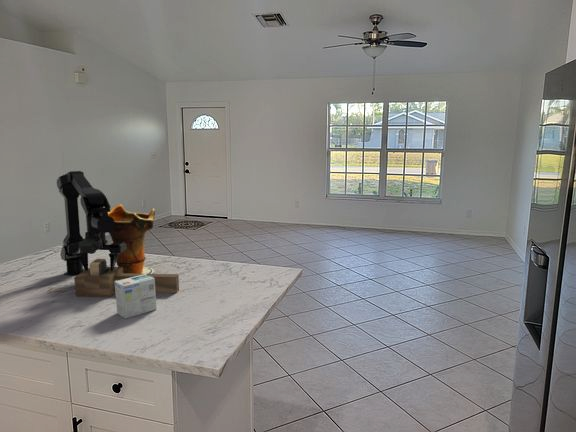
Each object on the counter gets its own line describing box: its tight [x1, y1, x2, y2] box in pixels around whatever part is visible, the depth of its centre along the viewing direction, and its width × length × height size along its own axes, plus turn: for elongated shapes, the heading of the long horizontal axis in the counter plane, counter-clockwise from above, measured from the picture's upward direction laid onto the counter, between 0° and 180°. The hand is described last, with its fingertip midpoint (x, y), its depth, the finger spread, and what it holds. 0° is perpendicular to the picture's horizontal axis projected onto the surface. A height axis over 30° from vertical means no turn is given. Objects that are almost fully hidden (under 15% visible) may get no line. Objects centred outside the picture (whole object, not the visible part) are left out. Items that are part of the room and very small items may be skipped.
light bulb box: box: [114, 274, 158, 320], centre depth 134 cm, size 11×7×11 cm, turn 135°
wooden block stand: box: [73, 266, 180, 298], centre depth 152 cm, size 12×34×7 cm, turn 88°
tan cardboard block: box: [89, 258, 108, 276], centre depth 152 cm, size 6×4×8 cm, turn 178°
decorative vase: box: [107, 203, 156, 274], centre depth 170 cm, size 21×23×28 cm
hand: (99, 270), depth 152 cm, fingers open, 9 cm apart
